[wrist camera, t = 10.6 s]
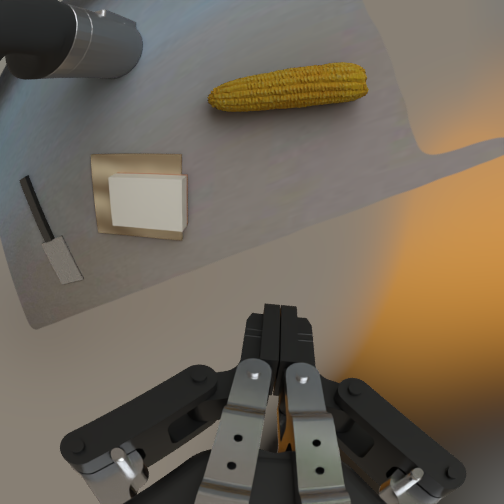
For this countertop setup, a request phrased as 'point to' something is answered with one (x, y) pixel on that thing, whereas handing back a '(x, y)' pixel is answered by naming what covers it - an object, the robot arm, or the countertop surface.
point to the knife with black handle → (52, 240)
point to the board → (129, 163)
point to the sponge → (149, 200)
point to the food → (292, 88)
